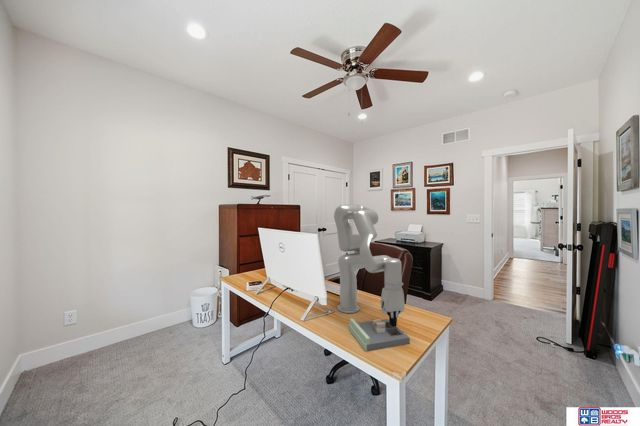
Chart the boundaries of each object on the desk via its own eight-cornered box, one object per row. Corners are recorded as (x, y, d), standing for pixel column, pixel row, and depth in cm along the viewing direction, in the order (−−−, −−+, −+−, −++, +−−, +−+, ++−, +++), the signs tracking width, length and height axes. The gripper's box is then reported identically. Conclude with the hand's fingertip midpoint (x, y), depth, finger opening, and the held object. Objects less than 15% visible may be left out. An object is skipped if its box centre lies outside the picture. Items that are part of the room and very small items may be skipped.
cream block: (373, 328, 108) (372, 320, 108) (380, 327, 109) (380, 319, 109) (377, 333, 104) (377, 324, 104) (385, 331, 105) (385, 323, 105)
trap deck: (348, 329, 113) (348, 319, 113) (387, 323, 118) (387, 313, 118) (365, 351, 95) (365, 338, 95) (409, 343, 100) (409, 331, 100)
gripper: (402, 281, 114) (402, 319, 114) (374, 284, 110) (374, 323, 110) (412, 286, 107) (412, 326, 107) (382, 289, 103) (382, 331, 103)
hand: (393, 325), depth 109 cm, fingers closed
